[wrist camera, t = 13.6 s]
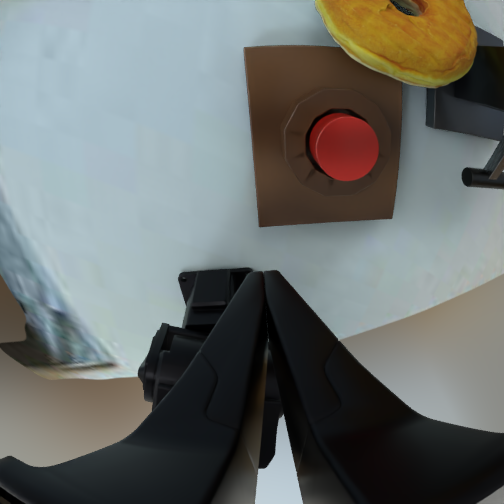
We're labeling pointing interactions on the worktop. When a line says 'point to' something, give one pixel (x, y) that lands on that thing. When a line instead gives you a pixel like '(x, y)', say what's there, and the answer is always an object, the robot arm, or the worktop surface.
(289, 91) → the button block
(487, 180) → the lever
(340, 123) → the button
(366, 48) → the yellow donut
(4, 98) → the worktop surface
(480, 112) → the bracket
